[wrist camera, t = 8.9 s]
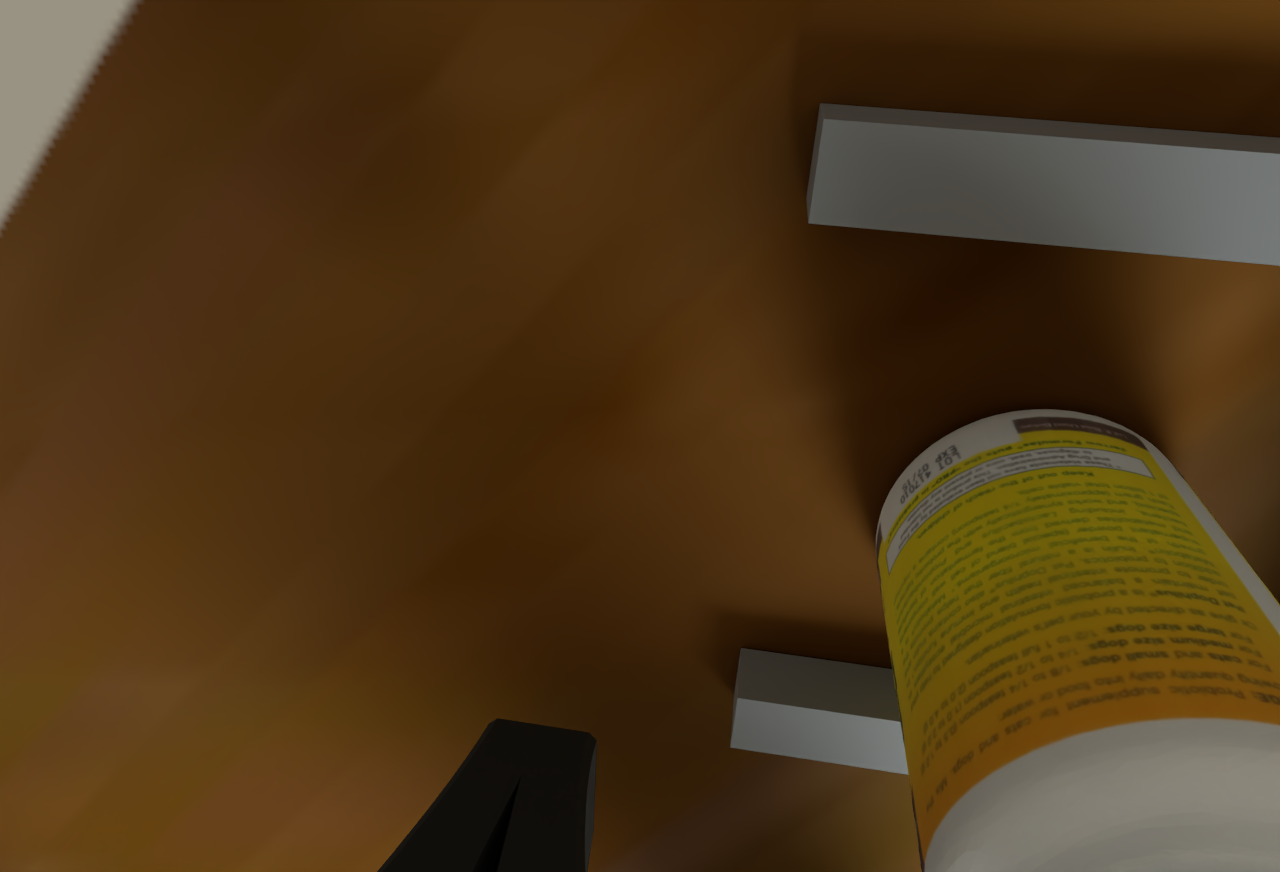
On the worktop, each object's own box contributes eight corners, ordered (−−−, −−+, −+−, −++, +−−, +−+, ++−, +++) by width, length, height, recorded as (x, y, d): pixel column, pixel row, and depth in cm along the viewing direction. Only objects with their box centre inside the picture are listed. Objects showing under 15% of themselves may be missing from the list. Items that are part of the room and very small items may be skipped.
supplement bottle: (812, 519, 17) (838, 1107, 8) (1049, 335, 15) (1439, 901, 6) (995, 674, 19) (1183, 1329, 10) (1244, 528, 16) (1802, 1236, 7)
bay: (1296, 778, 19) (1434, 1000, 15) (733, 696, 20) (721, 880, 16) (1688, 168, 12) (2121, 271, 8) (820, 102, 13) (834, 164, 10)
